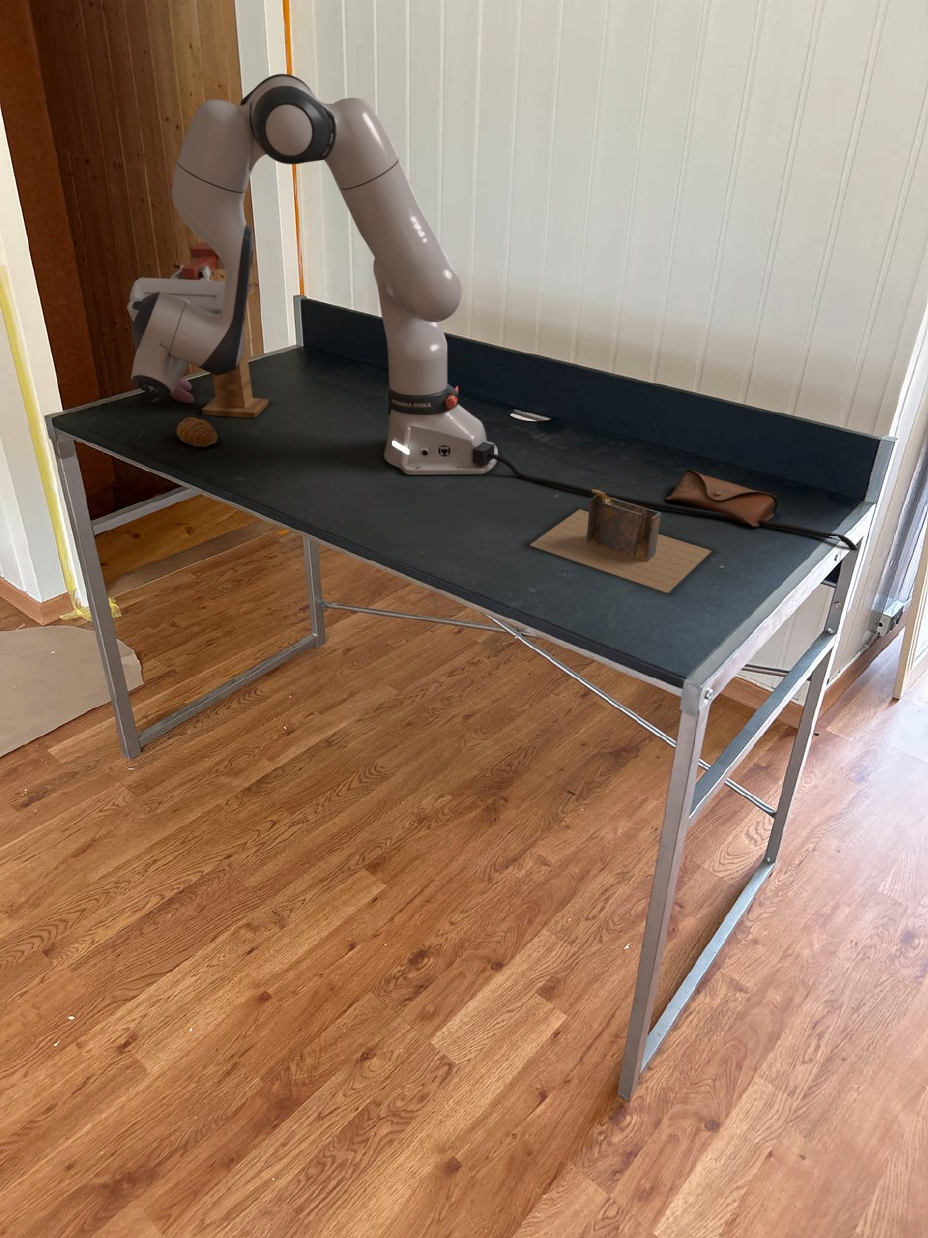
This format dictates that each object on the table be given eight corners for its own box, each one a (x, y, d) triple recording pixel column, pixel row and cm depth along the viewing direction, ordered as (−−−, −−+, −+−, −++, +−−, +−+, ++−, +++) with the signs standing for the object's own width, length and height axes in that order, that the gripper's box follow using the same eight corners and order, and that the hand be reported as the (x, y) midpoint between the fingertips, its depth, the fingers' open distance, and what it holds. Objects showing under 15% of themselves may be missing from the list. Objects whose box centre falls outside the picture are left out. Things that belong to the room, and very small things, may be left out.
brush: (241, 262, 188) (239, 243, 186) (209, 282, 174) (206, 261, 172) (204, 261, 189) (201, 241, 187) (169, 281, 175) (166, 260, 173)
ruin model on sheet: (529, 545, 151) (531, 491, 146) (579, 509, 163) (583, 458, 157) (667, 593, 139) (676, 536, 134) (712, 550, 150) (721, 496, 145)
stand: (268, 404, 205) (254, 283, 191) (255, 418, 198) (239, 293, 183) (217, 400, 207) (199, 280, 192) (202, 414, 199) (182, 291, 185)
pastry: (227, 442, 187) (224, 424, 184) (198, 452, 183) (194, 434, 180) (202, 430, 192) (199, 412, 190) (173, 439, 188) (170, 421, 186)
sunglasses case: (662, 498, 165) (675, 462, 164) (675, 505, 171) (688, 470, 170) (757, 528, 156) (772, 490, 155) (767, 534, 162) (782, 497, 161)
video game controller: (176, 397, 212) (157, 372, 208) (193, 387, 212) (174, 361, 208) (178, 412, 205) (159, 386, 200) (196, 401, 204) (176, 375, 200)
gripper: (223, 311, 167) (242, 256, 173) (118, 306, 169) (140, 252, 175) (234, 336, 172) (252, 282, 178) (132, 331, 175) (153, 278, 181)
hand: (196, 267), depth 177 cm, fingers closed on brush, 2 cm apart
